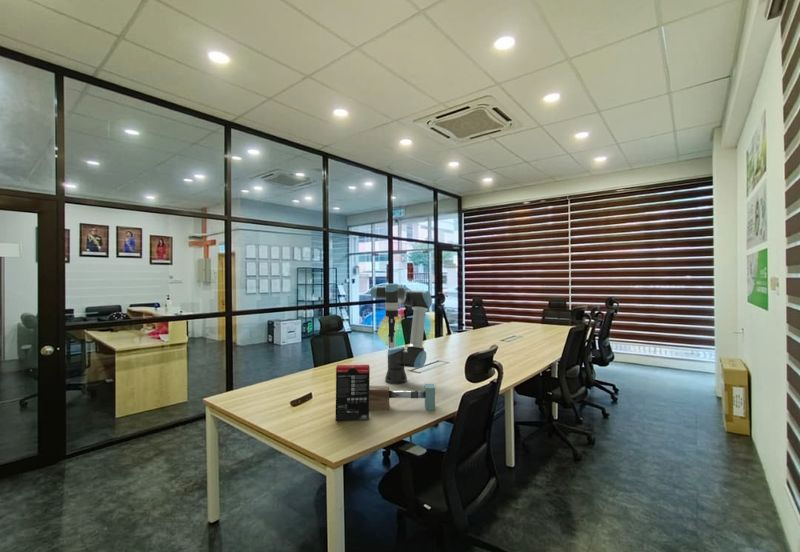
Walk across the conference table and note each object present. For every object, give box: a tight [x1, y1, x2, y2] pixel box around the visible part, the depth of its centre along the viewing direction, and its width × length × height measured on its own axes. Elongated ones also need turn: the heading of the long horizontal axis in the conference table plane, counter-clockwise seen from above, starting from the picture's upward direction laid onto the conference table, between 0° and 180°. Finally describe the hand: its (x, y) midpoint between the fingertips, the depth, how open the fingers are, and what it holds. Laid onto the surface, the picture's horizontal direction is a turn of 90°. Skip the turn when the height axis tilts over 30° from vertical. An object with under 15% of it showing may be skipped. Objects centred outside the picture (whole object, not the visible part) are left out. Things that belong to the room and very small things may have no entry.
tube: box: [389, 389, 426, 399], centre depth 201 cm, size 26×4×4 cm, turn 90°
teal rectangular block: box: [424, 383, 436, 411], centre depth 201 cm, size 8×5×12 cm, turn 0°
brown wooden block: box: [369, 385, 390, 411], centre depth 201 cm, size 7×12×11 cm, turn 90°
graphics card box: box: [335, 364, 371, 422], centre depth 185 cm, size 17×7×27 cm, turn 96°
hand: (391, 345), depth 215 cm, fingers open, 13 cm apart
